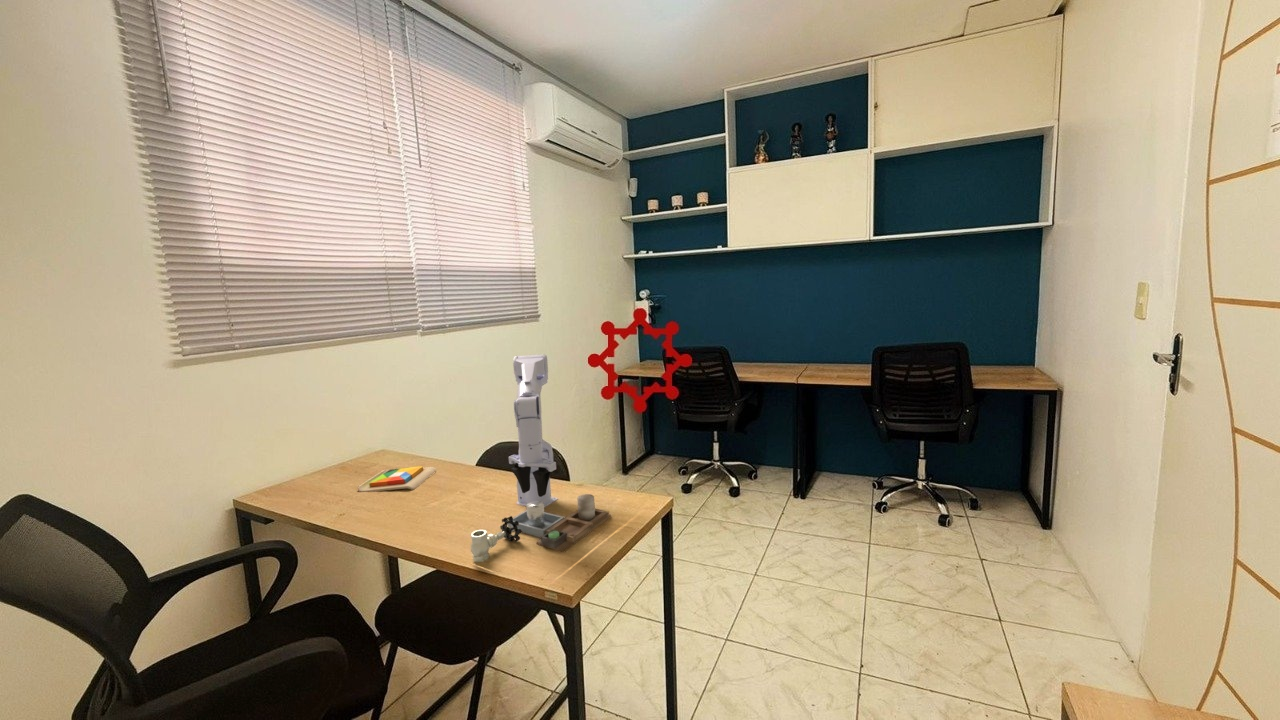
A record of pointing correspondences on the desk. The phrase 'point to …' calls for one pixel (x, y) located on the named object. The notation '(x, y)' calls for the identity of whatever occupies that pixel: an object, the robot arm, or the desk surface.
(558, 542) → the brown compartment tray
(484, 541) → the valve
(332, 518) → the desk surface
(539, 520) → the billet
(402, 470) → the wooden puzzle
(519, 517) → the tote
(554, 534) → the button
